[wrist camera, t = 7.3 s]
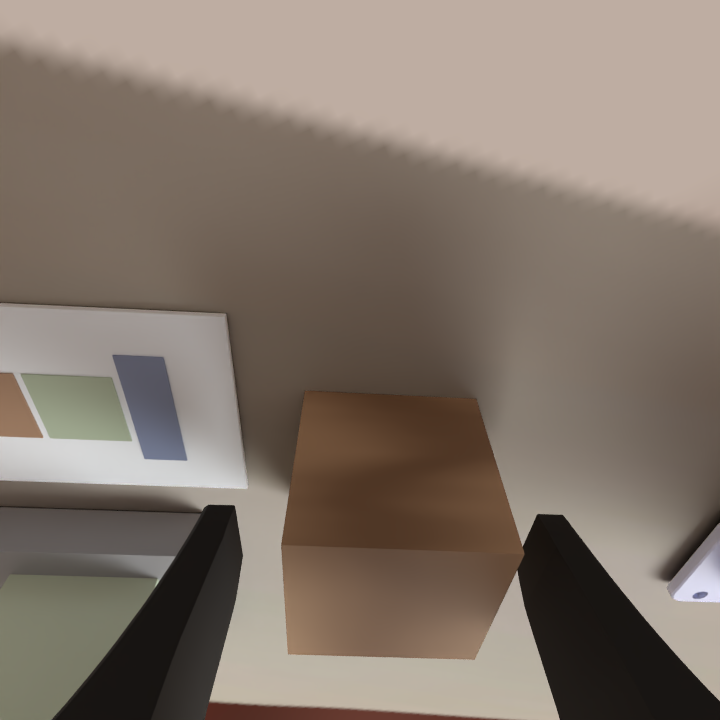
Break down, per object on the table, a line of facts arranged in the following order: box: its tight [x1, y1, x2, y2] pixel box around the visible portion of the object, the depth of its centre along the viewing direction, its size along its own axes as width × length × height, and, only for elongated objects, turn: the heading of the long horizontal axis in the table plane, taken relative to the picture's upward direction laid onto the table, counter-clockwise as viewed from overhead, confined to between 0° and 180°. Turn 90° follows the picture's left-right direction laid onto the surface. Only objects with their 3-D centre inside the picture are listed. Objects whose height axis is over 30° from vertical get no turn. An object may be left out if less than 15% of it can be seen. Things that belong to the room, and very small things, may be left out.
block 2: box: [281, 391, 524, 660], centre depth 12 cm, size 4×4×4 cm
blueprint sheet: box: [0, 303, 248, 489], centre depth 12 cm, size 10×6×1 cm, turn 87°
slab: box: [0, 507, 221, 659], centre depth 16 cm, size 7×7×2 cm
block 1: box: [0, 574, 159, 720], centre depth 14 cm, size 4×4×4 cm
